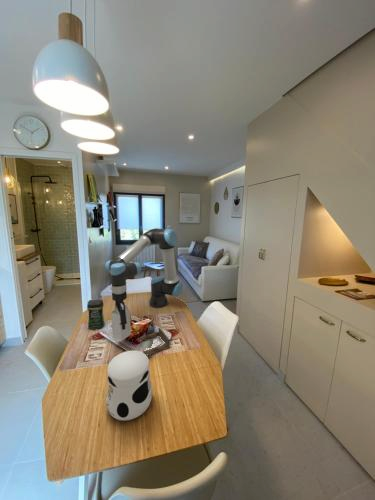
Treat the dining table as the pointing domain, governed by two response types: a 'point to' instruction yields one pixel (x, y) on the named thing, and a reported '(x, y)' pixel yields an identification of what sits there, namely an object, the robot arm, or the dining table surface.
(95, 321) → the coffee jar
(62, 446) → the dining table surface
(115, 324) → the milk carton
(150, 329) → the winch drum
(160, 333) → the bay
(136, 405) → the milk container
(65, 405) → the dining table surface
